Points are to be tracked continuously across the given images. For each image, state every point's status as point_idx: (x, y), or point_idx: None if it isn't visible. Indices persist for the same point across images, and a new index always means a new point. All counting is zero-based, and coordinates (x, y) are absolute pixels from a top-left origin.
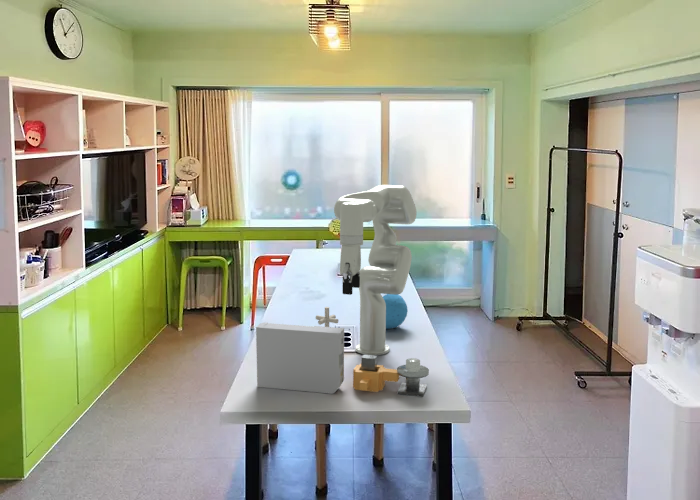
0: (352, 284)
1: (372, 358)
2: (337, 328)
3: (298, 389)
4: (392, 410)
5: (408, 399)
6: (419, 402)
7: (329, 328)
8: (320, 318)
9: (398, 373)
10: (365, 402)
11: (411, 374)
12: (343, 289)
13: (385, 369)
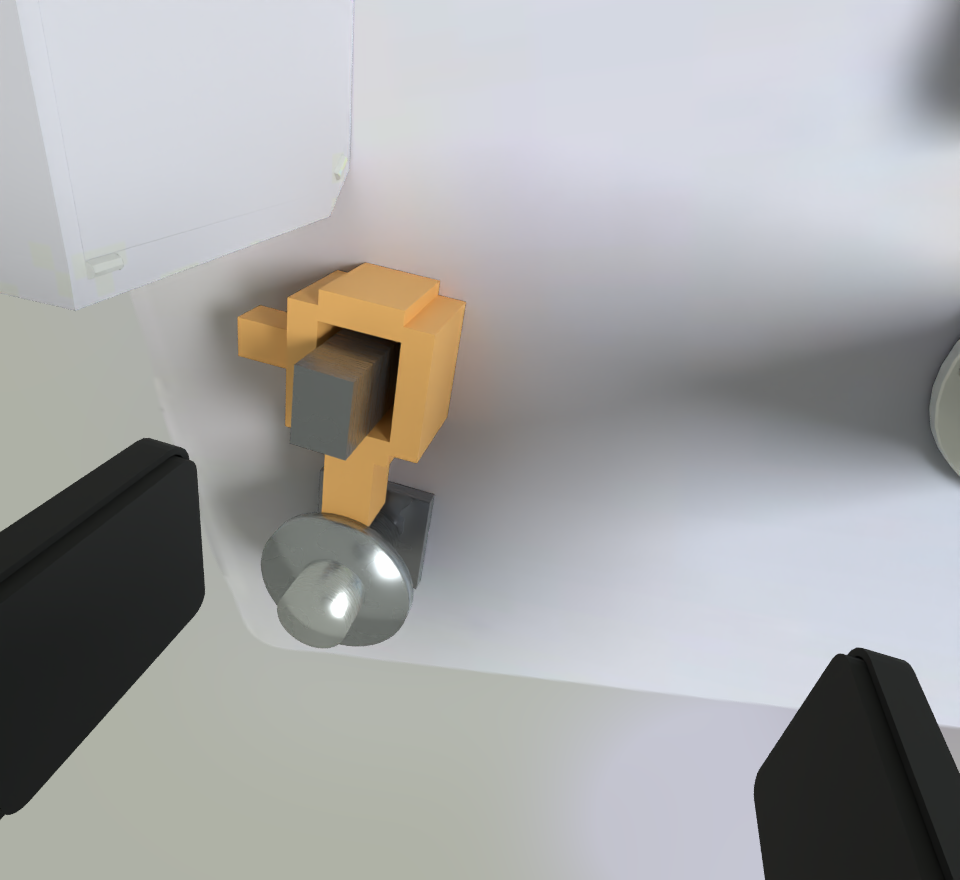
0: (833, 745)
1: (292, 430)
2: (42, 239)
3: None
4: (169, 428)
5: (285, 496)
6: (268, 529)
7: (2, 143)
8: None
9: (295, 519)
10: (207, 324)
11: (271, 571)
12: (71, 506)
13: (357, 465)
